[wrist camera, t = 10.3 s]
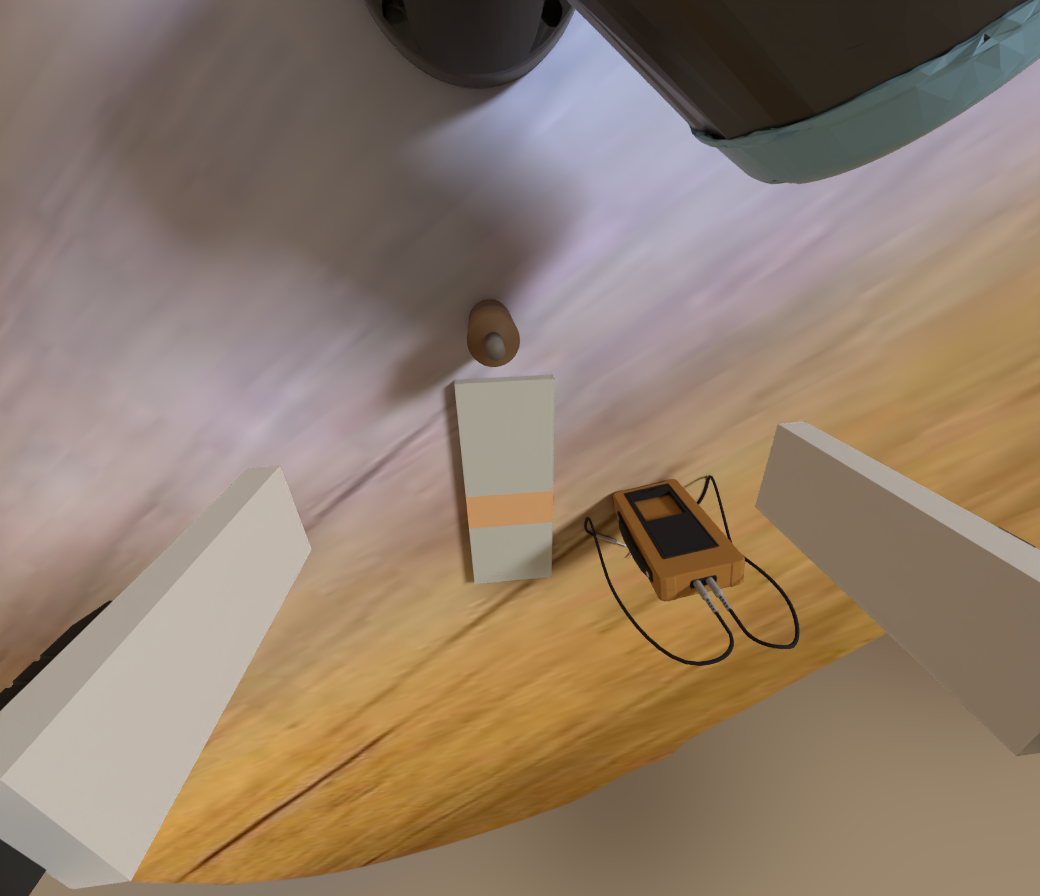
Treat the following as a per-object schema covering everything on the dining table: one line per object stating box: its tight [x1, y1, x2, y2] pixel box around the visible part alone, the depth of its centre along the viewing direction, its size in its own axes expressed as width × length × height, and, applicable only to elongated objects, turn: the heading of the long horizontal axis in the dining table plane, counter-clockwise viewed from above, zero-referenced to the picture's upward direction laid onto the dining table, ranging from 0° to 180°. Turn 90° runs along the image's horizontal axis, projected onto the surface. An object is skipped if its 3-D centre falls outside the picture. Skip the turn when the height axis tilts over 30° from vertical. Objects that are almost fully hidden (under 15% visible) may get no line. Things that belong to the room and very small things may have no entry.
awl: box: [467, 300, 520, 367], centre depth 30 cm, size 4×4×11 cm
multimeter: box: [584, 475, 799, 666], centre depth 37 cm, size 15×10×20 cm
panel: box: [454, 375, 555, 584], centre depth 42 cm, size 24×9×1 cm, turn 2°
